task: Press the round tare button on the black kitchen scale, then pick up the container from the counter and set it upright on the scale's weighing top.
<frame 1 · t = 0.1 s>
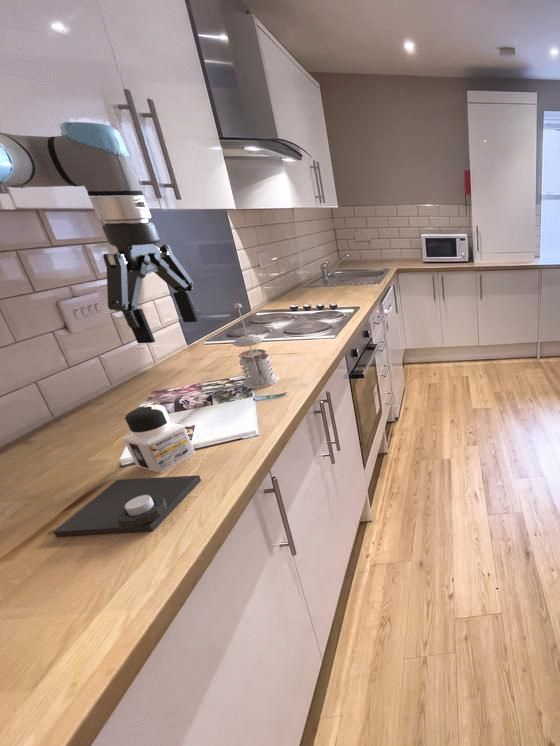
hand: (170, 331, 85), 28 cm above the counter, tool pointing down, fingers open, 13 cm apart
french press: (262, 383, 127), on the counter
container: (167, 461, 91), on the counter
scale: (135, 506, 78), on the counter
tare button: (139, 505, 73), point 4 cm above the counter, slide at 0.1 cm
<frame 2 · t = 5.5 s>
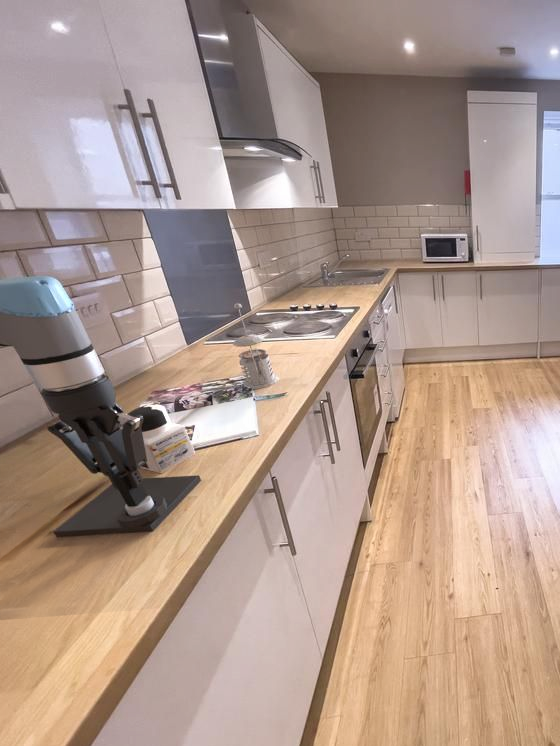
hand: (138, 501, 72), 5 cm above the counter, tool pointing down, fingers closed
tare button: (140, 505, 73), point 3 cm above the counter, slide at 0.1 cm, touching gripper
everything else where it was.
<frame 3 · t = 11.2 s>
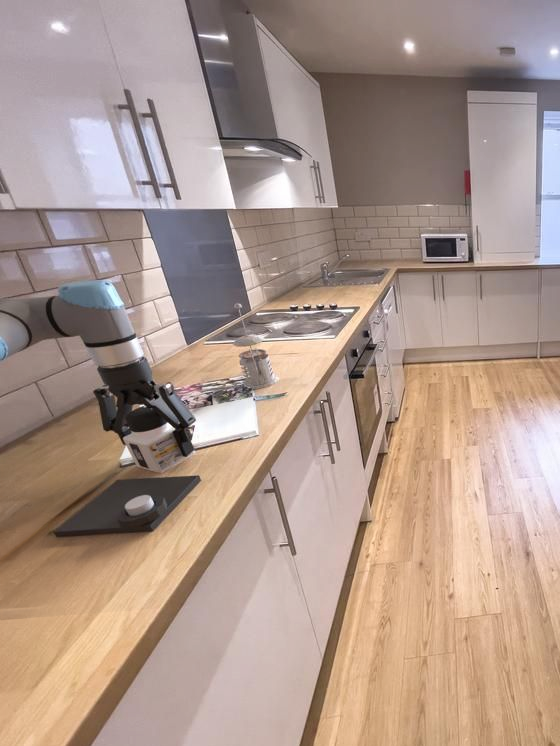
hand: (164, 454, 90), 2 cm above the counter, tool pointing down, fingers closed on container, 10 cm apart
container: (167, 461, 91), on the counter, touching gripper
tare button: (139, 505, 73), point 4 cm above the counter, slide at 0.1 cm
everything else where it was.
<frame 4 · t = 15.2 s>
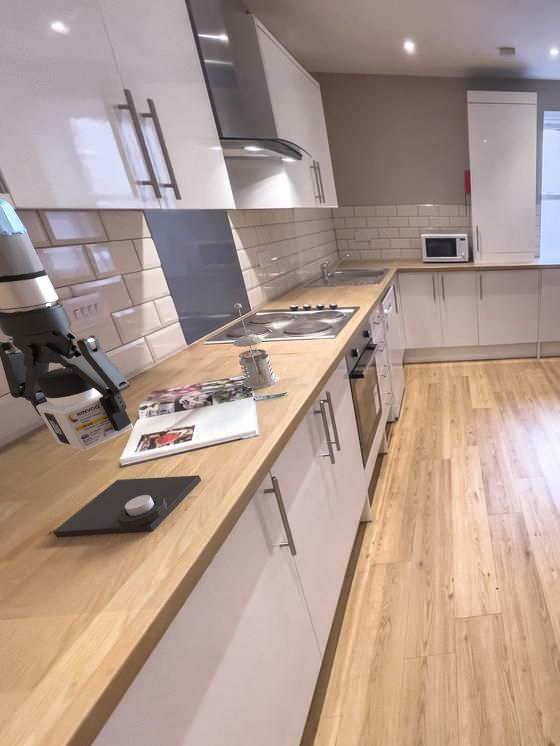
hand: (92, 428, 73), 16 cm above the counter, tool pointing down, fingers closed on container, 10 cm apart
container: (97, 437, 74), point 14 cm above the counter, touching gripper
everything else where it was.
when the fingers open (3 cm above the counter, at t = 19.3 s): container stays where it is, resting on scale.
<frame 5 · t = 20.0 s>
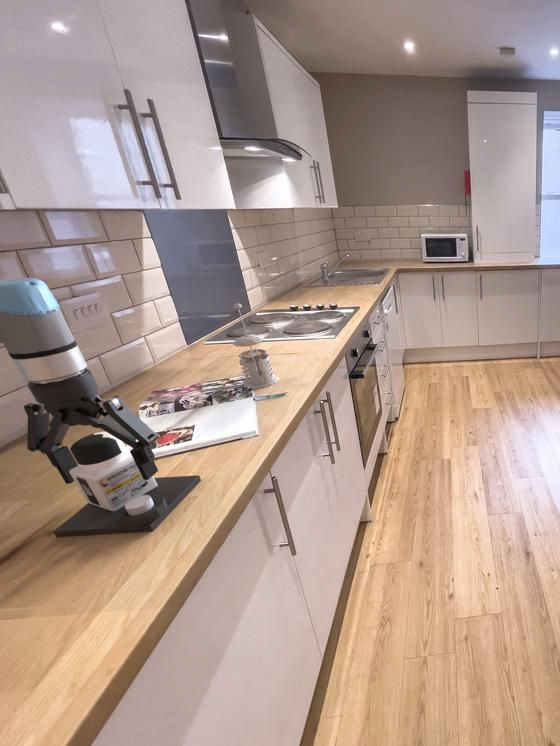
hand: (113, 477, 77), 6 cm above the counter, tool pointing down, fingers open, 13 cm apart
container: (124, 495, 79), point 1 cm above the counter, touching scale
everything else where it was.
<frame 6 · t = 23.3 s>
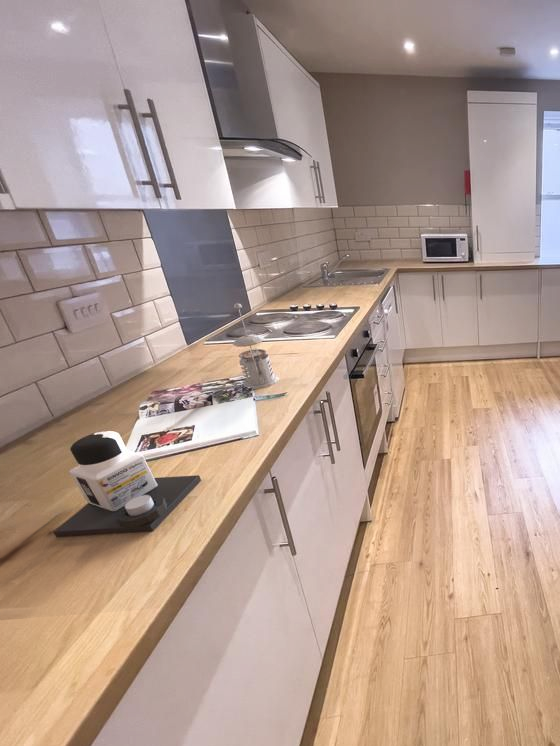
nothing on the counter moved.
at the end: tare button pushed in 0.8 cm at the most during the clip, back to where it started at the end; container inside the target area on the scale (0.9 cm from its centre), point 1.2 cm above the scale's base; container tilted 0° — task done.
